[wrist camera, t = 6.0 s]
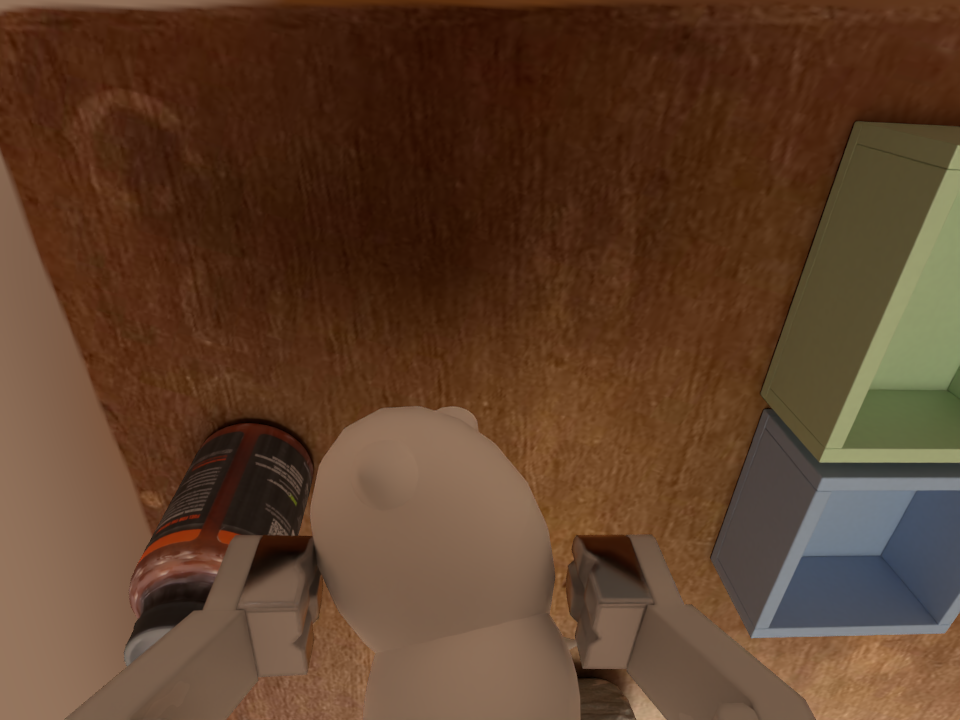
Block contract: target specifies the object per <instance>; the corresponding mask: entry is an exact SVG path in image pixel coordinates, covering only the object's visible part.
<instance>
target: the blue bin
mask: <svg viewBox="0 0 960 720" xmlns="http://www.w3.org/2000/svg"><path fill="white" fill-rule="evenodd" d="M711 561H712V563H713V565H714V566H715V568H716V570H717V572H718V574H719V576H720V578H721V580H722V582H723V584H724V586H725V588H726V590H727V592H728V594H729V596H730V598H731V600H732V602H733V604H734V606H735V608H736V610H737V611H738V613H739V615H740V617H741V619H742V621H743V623H744V625H745V627H746V629H747V631H748V633H749V635H750V637H751V638H772V637H813V636H854V635H895V634H937V633H945V632H946V631H947V630H948V628H949V627H950V624H952V622H953V621H954V620H955V618H956V617H957V615H958V614H959V612H960V463H821V462H818V460H817V459H816V458H815V457H814V456H813V455H812V453H811V452H810V451H809V450H808V449H807V448H806V447H805V445H804V444H803V443H802V442H801V441H800V440H799V439H798V437H797V436H796V435H795V434H794V433H793V432H792V431H791V429H790V428H789V427H788V426H787V425H786V424H785V423H784V421H783V420H782V419H781V418H780V417H779V416H778V415H777V413H776V412H775V411H774V410H773V409H764V410H763V413H762V416H761V419H760V421H759V424H758V427H757V430H756V433H755V435H754V438H753V441H752V444H751V447H750V449H749V452H748V455H747V458H746V461H745V463H744V466H743V469H742V472H741V475H740V477H739V480H738V483H737V486H736V489H735V491H734V494H733V497H732V500H731V503H730V505H729V508H728V511H727V514H726V517H725V520H724V522H723V525H722V528H721V531H720V534H719V536H718V539H717V542H716V545H715V548H714V550H713V553H712V556H711Z"/></svg>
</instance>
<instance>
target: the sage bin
mask: <svg viewBox="0 0 960 720" xmlns="http://www.w3.org/2000/svg"><path fill="white" fill-rule="evenodd" d="M761 396H762V397H763V398H764V399H765V400H766V402H767V403H768V404H769V405H770V407H771V408H772V409H773V410H774V411H775V412H776V413H777V415H778V416H779V417H780V418H781V419H782V420H783V421H784V423H785V424H786V425H787V426H788V427H789V428H790V429H791V431H792V432H793V433H794V434H795V435H796V436H797V437H798V439H799V440H800V441H801V442H802V443H803V444H804V445H805V447H806V448H807V449H808V450H809V451H810V452H811V453H812V455H813V456H814V457H815V458H816V459H817V460H818V462H821V463H960V127H959V126H940V125H920V124H901V123H882V122H863V121H856V122H855V123H854V126H853V129H852V132H851V135H850V138H849V141H848V144H847V146H846V149H845V152H844V155H843V158H842V161H841V164H840V167H839V169H838V172H837V175H836V178H835V181H834V184H833V187H832V190H831V192H830V195H829V198H828V201H827V204H826V207H825V210H824V213H823V215H822V218H821V221H820V224H819V227H818V230H817V233H816V236H815V238H814V241H813V244H812V247H811V250H810V253H809V256H808V259H807V261H806V264H805V267H804V270H803V273H802V276H801V279H800V282H799V284H798V287H797V290H796V293H795V296H794V299H793V302H792V305H791V307H790V310H789V313H788V316H787V319H786V322H785V325H784V328H783V330H782V333H781V336H780V339H779V342H778V345H777V348H776V351H775V353H774V356H773V359H772V362H771V365H770V368H769V371H768V374H767V376H766V379H765V382H764V385H763V388H762V391H761Z"/></svg>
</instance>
